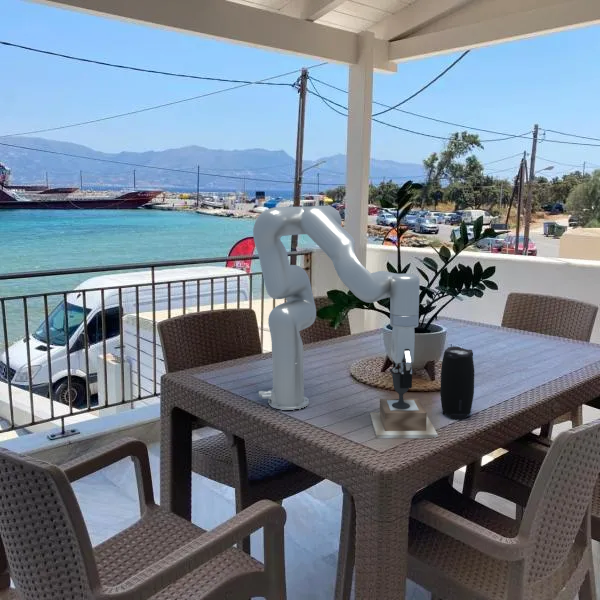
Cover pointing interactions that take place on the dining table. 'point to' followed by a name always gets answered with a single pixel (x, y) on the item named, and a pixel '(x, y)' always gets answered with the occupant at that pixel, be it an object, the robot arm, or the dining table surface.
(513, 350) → the dining table surface
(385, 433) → the pedestal
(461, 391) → the portable speaker
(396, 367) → the sundae
